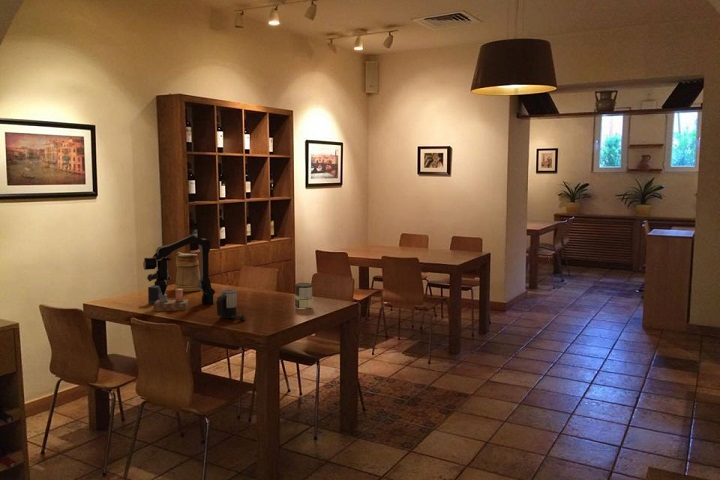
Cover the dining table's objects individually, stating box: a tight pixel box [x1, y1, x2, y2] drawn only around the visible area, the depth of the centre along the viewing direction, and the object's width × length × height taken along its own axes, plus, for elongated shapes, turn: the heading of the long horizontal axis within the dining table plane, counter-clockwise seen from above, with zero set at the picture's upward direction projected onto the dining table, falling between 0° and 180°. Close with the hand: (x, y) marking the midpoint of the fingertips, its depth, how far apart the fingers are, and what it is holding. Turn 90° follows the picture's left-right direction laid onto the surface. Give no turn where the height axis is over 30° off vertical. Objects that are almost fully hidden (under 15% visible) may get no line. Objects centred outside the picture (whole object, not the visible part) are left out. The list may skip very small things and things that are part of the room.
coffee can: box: [294, 282, 313, 309], centre depth 349 cm, size 10×10×14 cm
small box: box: [147, 284, 167, 305], centre depth 358 cm, size 11×6×10 cm, turn 168°
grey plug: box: [159, 293, 168, 303], centre depth 342 cm, size 5×5×8 cm
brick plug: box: [174, 288, 184, 303], centre depth 343 cm, size 5×5×8 cm
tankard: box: [174, 251, 201, 293], centre depth 398 cm, size 18×24×25 cm
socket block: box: [153, 299, 190, 312], centre depth 343 cm, size 18×10×4 cm, turn 99°
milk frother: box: [216, 289, 246, 321], centre depth 321 cm, size 14×16×15 cm
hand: (163, 294), depth 342 cm, fingers closed, pressing on grey plug
